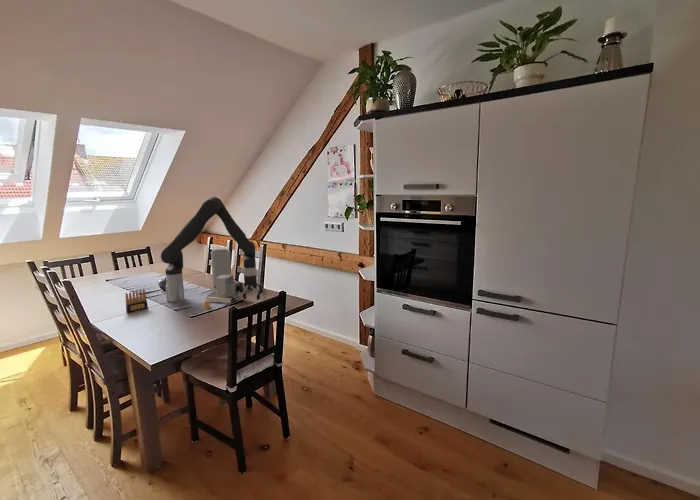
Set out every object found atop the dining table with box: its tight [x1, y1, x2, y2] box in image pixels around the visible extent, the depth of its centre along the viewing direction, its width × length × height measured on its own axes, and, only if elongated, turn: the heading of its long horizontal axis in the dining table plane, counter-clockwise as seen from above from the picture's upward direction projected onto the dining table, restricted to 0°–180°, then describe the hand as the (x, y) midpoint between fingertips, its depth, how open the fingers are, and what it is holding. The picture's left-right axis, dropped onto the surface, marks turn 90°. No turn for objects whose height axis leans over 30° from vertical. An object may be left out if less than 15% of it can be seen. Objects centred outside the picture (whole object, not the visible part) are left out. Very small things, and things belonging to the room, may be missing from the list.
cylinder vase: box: [210, 248, 232, 289], centre depth 251 cm, size 12×12×25 cm
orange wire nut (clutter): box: [203, 300, 211, 309], centre depth 210 cm, size 3×3×4 cm
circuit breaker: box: [215, 274, 241, 301], centre depth 222 cm, size 8×14×15 cm, turn 82°
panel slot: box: [205, 289, 240, 304], centre depth 224 cm, size 16×12×4 cm
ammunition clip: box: [125, 288, 149, 315], centre depth 203 cm, size 11×2×12 cm, turn 138°
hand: (251, 299), depth 221 cm, fingers open, 8 cm apart
